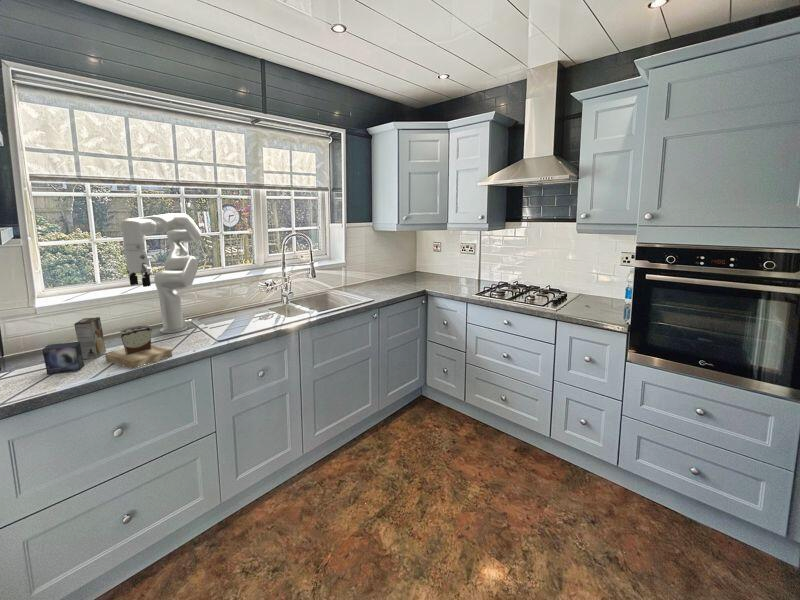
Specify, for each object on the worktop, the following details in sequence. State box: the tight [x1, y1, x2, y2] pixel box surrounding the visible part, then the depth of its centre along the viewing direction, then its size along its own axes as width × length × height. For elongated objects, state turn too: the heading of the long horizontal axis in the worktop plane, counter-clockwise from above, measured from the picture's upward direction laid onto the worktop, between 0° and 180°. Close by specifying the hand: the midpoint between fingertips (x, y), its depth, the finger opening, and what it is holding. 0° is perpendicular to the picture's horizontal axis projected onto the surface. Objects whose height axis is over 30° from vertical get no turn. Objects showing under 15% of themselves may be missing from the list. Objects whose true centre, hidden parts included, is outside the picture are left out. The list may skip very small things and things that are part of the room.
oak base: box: [105, 344, 173, 369], centre depth 171 cm, size 16×20×3 cm
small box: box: [41, 341, 85, 375], centre depth 158 cm, size 11×6×10 cm, turn 114°
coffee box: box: [73, 316, 107, 360], centre depth 173 cm, size 9×6×16 cm
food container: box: [118, 325, 153, 355], centre depth 170 cm, size 12×6×10 cm, turn 146°
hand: (140, 285), depth 183 cm, fingers open, 9 cm apart
